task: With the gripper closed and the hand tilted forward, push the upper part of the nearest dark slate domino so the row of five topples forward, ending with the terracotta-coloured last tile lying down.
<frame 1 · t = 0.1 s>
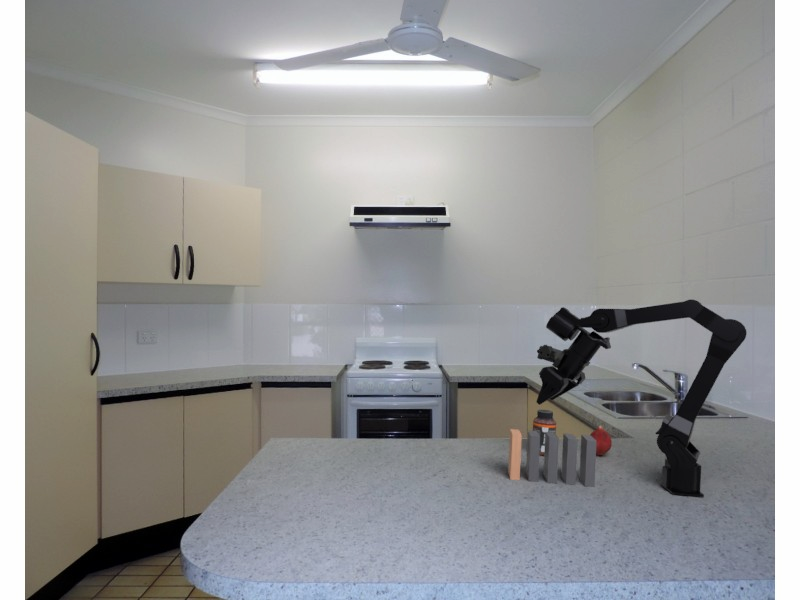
hand: (544, 401, 127), 15 cm above the countertop, tool tilted 30°, fingers open, 9 cm apart
domino 4: (531, 477, 112), on the countertop
domino 5: (513, 476, 113), on the countertop
domino 2: (568, 481, 111), on the countertop
supplement bottle: (543, 454, 132), on the countertop
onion: (599, 456, 132), on the countertop
domino 1: (586, 482, 111), on the countertop
domino 3: (549, 479, 112), on the countertop
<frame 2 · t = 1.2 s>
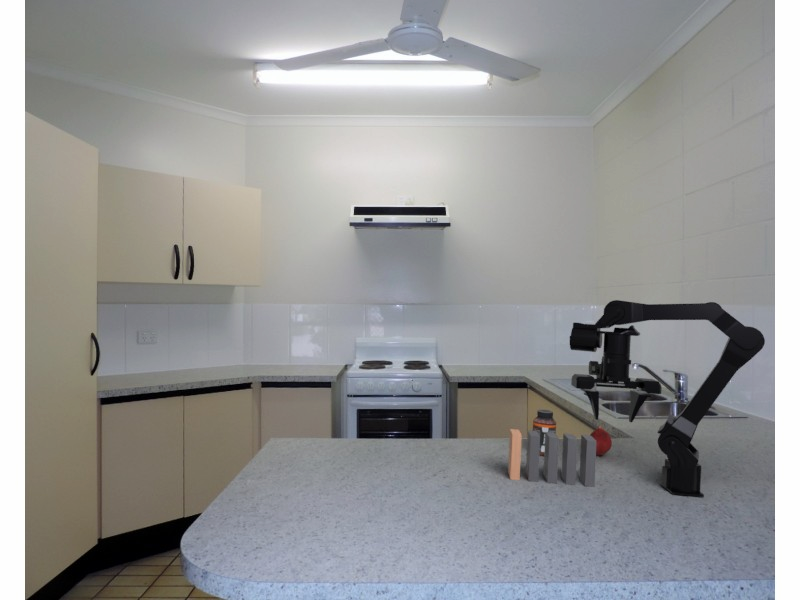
hand: (613, 420, 116), 13 cm above the countertop, tool pointing down, fingers open, 7 cm apart
nothing on the countertop moved.
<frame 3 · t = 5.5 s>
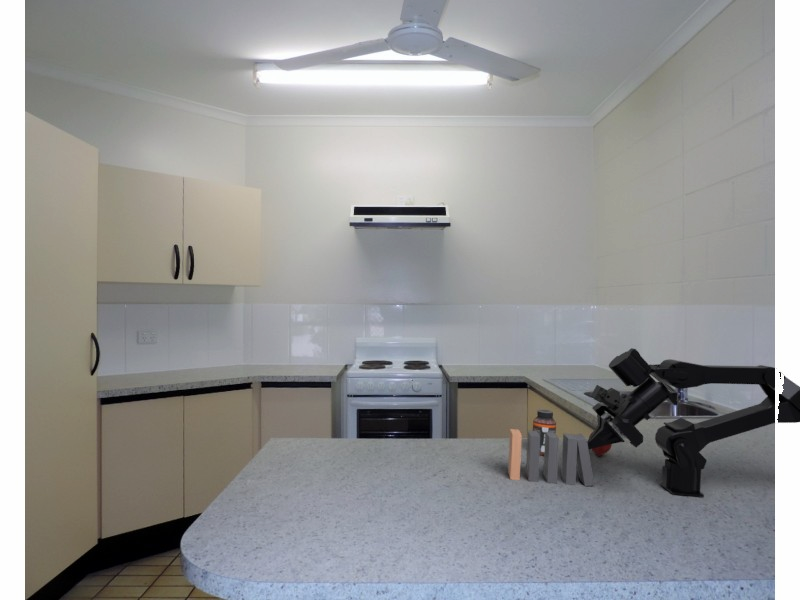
hand: (586, 447, 111), 8 cm above the countertop, tool tilted 45°, fingers closed
domino 2: (568, 481, 111), on the countertop, touching domino 1
domino 1: (586, 481, 111), on the countertop, tilted 12°, touching domino 2
everything else where it was.
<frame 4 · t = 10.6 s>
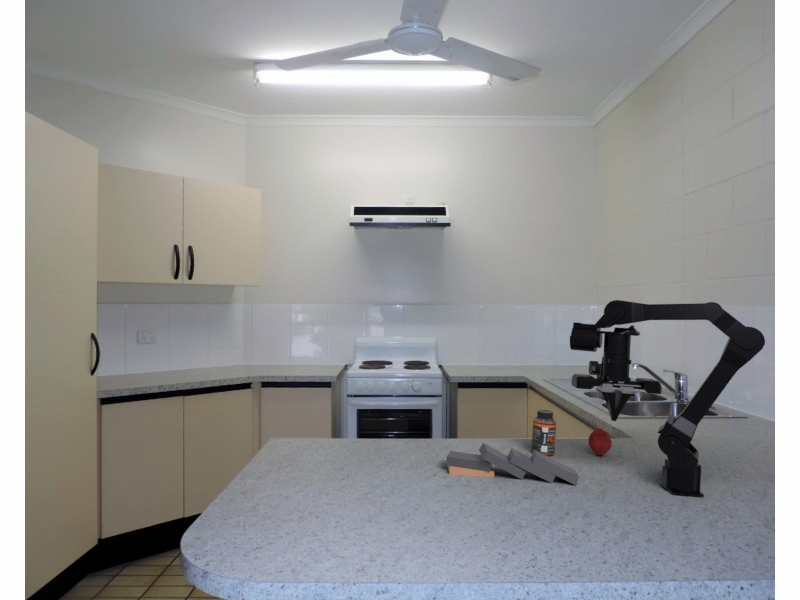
hand: (613, 420, 116), 13 cm above the countertop, tool pointing down, fingers closed
domino 4: (491, 464, 113), point 2 cm above the countertop, tilted 90°, touching domino 5
domino 5: (492, 472, 114), on the countertop, tilted 90°, touching domino 4
domino 2: (551, 475, 112), point 1 cm above the countertop, tilted 68°, touching domino 1
domino 1: (575, 477, 111), point 1 cm above the countertop, tilted 68°, touching domino 2
domino 3: (520, 471, 113), point 1 cm above the countertop, tilted 64°
everything else where it was.
at the end: domino 5 tilted 90°; domino 1 tilted 68°; the gripper is holding nothing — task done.
